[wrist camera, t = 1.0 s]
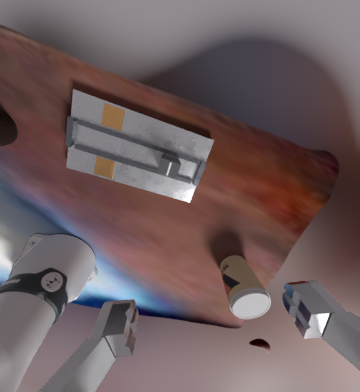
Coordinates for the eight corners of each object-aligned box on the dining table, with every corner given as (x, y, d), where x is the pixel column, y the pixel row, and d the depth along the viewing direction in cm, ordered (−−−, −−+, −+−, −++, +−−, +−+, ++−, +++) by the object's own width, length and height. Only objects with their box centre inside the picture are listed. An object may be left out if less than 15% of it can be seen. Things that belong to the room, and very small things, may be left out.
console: (211, 139, 34) (215, 140, 32) (188, 199, 39) (190, 204, 36) (79, 91, 30) (69, 87, 27) (71, 165, 35) (63, 168, 32)
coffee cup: (218, 253, 46) (234, 293, 35) (251, 252, 47) (277, 291, 36) (215, 277, 50) (228, 321, 39) (245, 276, 50) (267, 319, 39)
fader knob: (179, 159, 33) (181, 164, 29) (175, 172, 34) (176, 179, 30) (162, 154, 33) (161, 158, 28) (158, 167, 34) (156, 173, 29)
